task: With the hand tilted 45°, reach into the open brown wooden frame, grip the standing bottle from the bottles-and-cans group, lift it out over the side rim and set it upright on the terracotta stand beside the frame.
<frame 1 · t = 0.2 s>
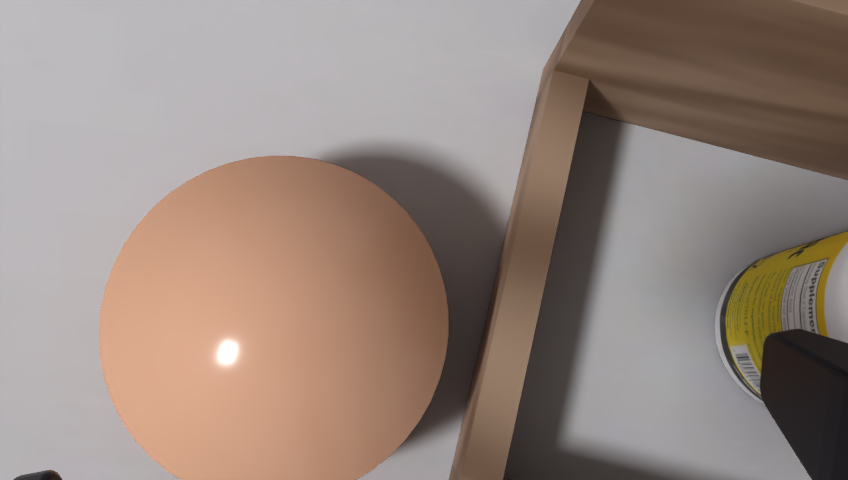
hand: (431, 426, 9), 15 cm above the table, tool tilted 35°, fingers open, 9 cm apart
terracotta stand: (289, 327, 23), on the table
brown wooden frame: (785, 331, 25), on the table
supplement bottle: (781, 332, 25), resting in brown wooden frame
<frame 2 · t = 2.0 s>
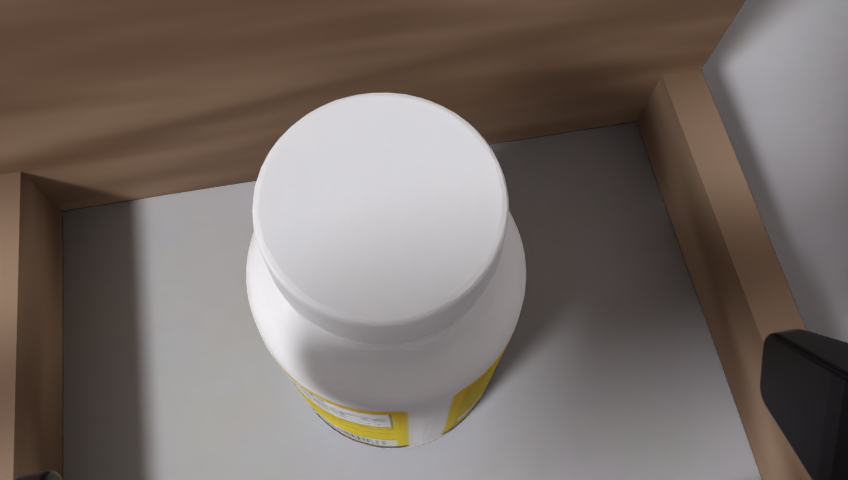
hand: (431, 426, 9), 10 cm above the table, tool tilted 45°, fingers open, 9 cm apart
brown wooden frame: (393, 350, 20), on the table
supplement bottle: (393, 352, 20), resting in brown wooden frame
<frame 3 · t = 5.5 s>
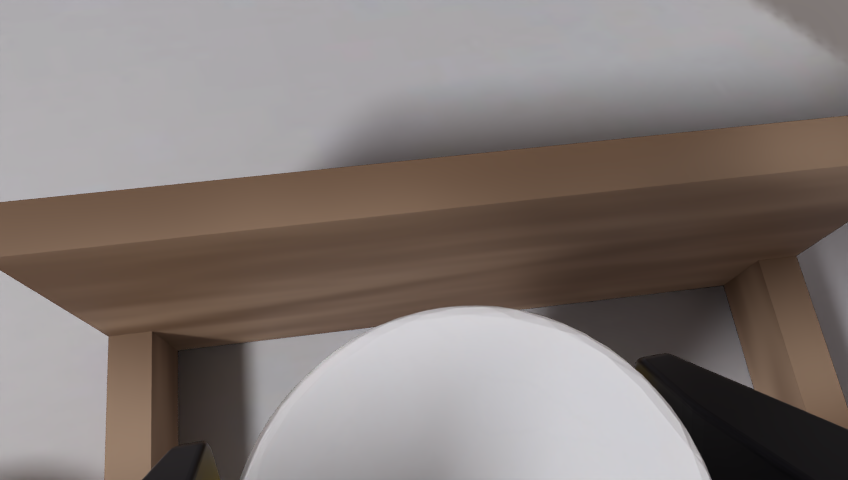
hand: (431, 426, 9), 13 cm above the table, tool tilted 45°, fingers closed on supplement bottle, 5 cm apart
when the fingers open (11 cm above the table, at t = 7.5 s): supplement bottle drops 1 cm, resting on terracotta stand.
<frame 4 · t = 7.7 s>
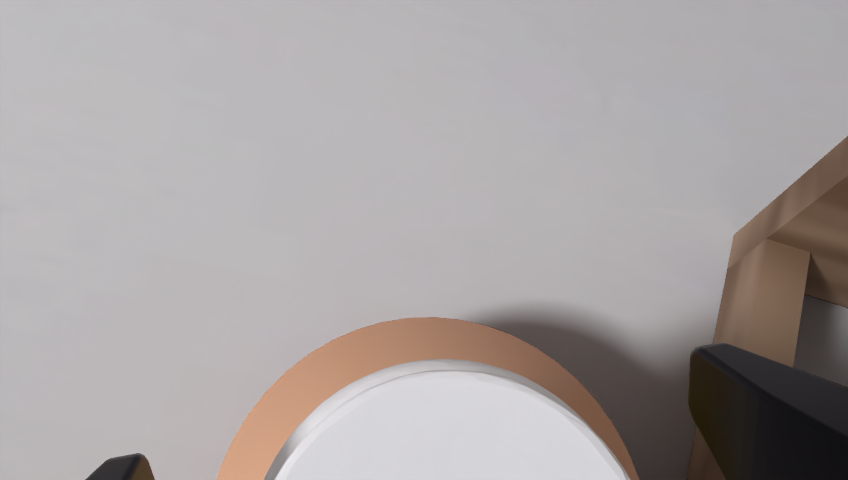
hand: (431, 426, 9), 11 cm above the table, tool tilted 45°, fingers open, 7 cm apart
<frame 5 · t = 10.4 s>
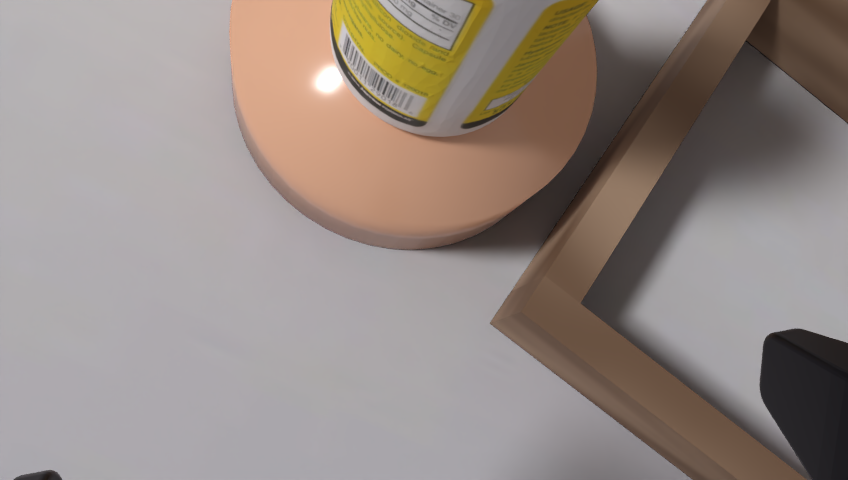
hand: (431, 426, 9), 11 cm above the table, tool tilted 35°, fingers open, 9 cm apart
terracotta stand: (401, 90, 22), on the table
supplement bottle: (425, 49, 19), point 3 cm above the table, touching terracotta stand
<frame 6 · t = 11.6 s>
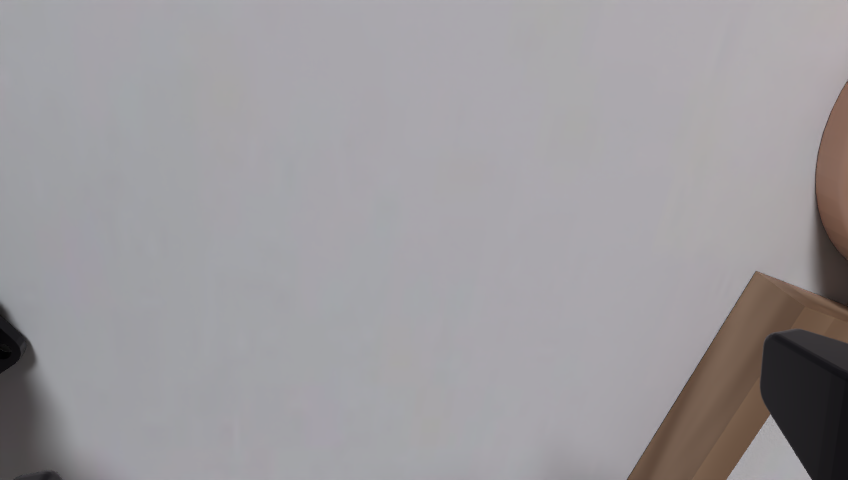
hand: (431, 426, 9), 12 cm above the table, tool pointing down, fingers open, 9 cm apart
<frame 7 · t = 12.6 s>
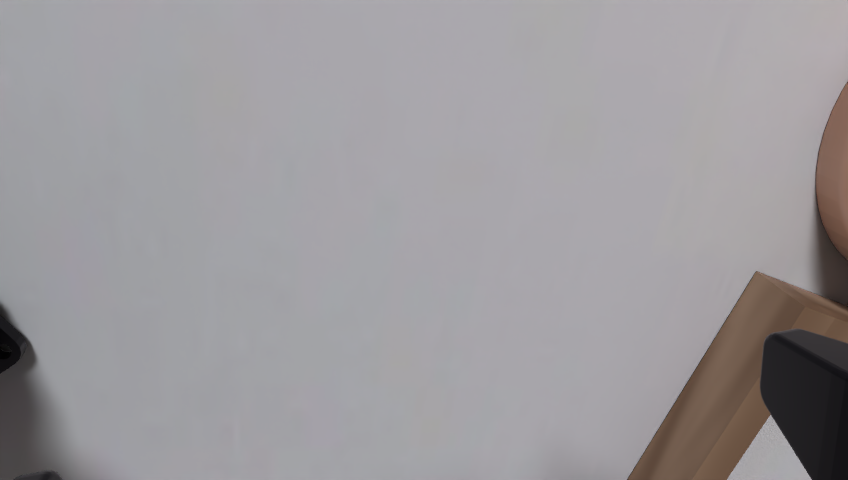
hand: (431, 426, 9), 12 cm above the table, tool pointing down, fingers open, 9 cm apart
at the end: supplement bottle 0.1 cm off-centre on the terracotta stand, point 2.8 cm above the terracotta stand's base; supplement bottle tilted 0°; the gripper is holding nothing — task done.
